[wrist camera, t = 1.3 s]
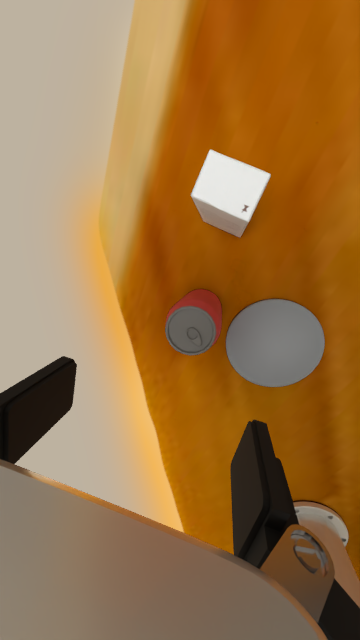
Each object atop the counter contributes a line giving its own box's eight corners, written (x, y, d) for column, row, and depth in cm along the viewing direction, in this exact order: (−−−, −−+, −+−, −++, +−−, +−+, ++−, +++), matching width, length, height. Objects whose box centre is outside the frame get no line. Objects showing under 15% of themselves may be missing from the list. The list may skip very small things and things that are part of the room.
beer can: (195, 336, 36) (183, 370, 25) (172, 303, 35) (148, 322, 24) (230, 314, 34) (233, 340, 23) (206, 280, 33) (197, 288, 22)
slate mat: (337, 362, 33) (341, 365, 32) (250, 395, 37) (251, 399, 36) (296, 281, 31) (298, 281, 30) (210, 325, 35) (209, 327, 34)
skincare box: (255, 208, 30) (274, 173, 18) (240, 238, 31) (249, 224, 20) (214, 190, 30) (209, 146, 19) (201, 221, 32) (189, 197, 20)
